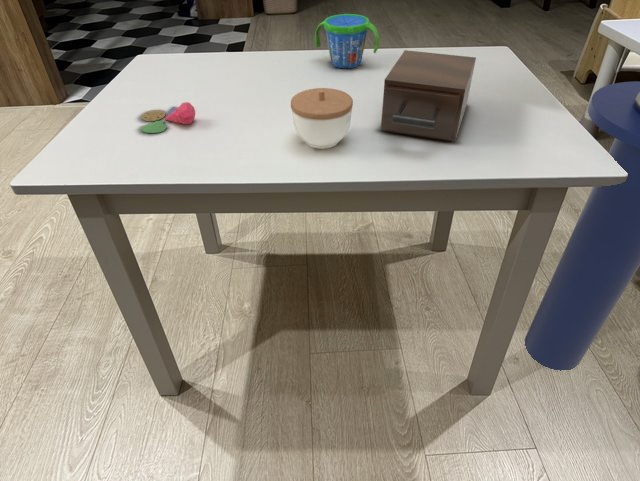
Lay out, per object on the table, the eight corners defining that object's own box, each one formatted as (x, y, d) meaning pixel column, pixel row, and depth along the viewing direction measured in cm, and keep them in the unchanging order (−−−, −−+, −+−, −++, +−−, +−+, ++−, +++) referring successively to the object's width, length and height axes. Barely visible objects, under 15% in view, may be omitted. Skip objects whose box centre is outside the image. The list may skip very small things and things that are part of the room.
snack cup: (307, 66, 111) (306, 22, 105) (327, 52, 118) (326, 10, 112) (366, 76, 106) (369, 30, 99) (383, 61, 113) (386, 17, 106)
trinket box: (330, 121, 89) (330, 74, 82) (363, 144, 82) (365, 94, 76) (282, 137, 84) (278, 87, 78) (312, 162, 78) (311, 110, 71)
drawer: (446, 155, 76) (454, 111, 71) (374, 144, 80) (376, 101, 75) (462, 106, 91) (470, 66, 85) (400, 97, 94) (404, 59, 89)
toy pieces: (204, 107, 95) (200, 87, 92) (192, 133, 86) (187, 111, 83) (147, 108, 95) (141, 88, 92) (130, 134, 87) (123, 112, 84)
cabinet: (455, 142, 82) (465, 89, 75) (380, 130, 86) (384, 79, 79) (466, 106, 93) (476, 57, 86) (400, 97, 97) (404, 50, 90)
